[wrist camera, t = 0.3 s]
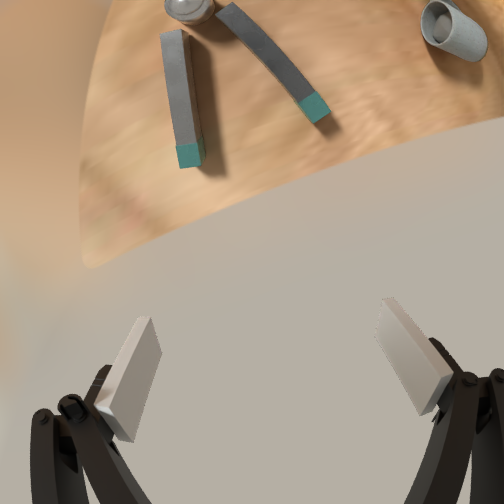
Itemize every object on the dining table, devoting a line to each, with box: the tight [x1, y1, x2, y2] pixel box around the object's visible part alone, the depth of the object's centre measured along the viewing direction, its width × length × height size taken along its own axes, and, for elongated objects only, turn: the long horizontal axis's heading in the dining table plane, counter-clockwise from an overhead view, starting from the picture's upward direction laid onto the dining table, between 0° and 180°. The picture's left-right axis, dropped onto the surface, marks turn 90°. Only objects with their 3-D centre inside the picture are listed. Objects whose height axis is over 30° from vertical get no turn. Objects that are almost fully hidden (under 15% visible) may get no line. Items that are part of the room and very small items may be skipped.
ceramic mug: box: [421, 0, 488, 62], centre depth 17 cm, size 11×8×8 cm
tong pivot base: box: [164, 0, 331, 124], centre depth 25 cm, size 24×6×4 cm, turn 40°
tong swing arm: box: [160, 0, 206, 169], centre depth 26 cm, size 23×6×5 cm, turn 5°
